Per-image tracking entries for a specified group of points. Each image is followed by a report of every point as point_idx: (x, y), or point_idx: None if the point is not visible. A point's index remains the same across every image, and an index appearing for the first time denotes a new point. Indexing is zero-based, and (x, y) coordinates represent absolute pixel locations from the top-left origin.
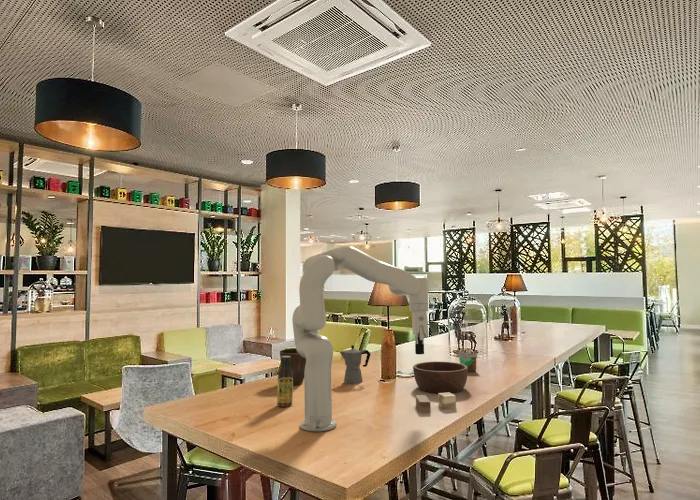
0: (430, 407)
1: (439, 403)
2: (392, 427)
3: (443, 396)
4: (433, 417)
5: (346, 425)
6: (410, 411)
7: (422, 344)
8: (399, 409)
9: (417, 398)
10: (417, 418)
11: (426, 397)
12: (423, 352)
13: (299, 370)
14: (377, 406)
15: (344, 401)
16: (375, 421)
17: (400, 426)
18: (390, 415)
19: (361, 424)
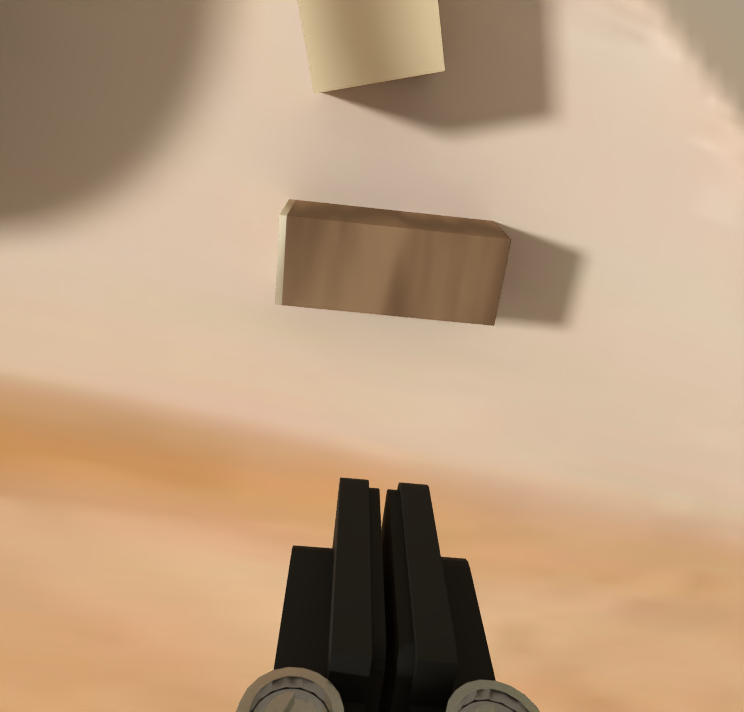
0: (500, 229)
1: (338, 89)
2: (702, 515)
3: (428, 73)
4: (610, 235)
5: (588, 693)
6: (429, 354)
7: (452, 685)
8: (367, 413)
9: (372, 313)
10: (595, 348)
11: (358, 229)
12: (431, 512)
13: None
14: (274, 525)
15: (140, 672)
16: (571, 575)
17: (704, 475)
18: (484, 487)
19: (596, 638)
